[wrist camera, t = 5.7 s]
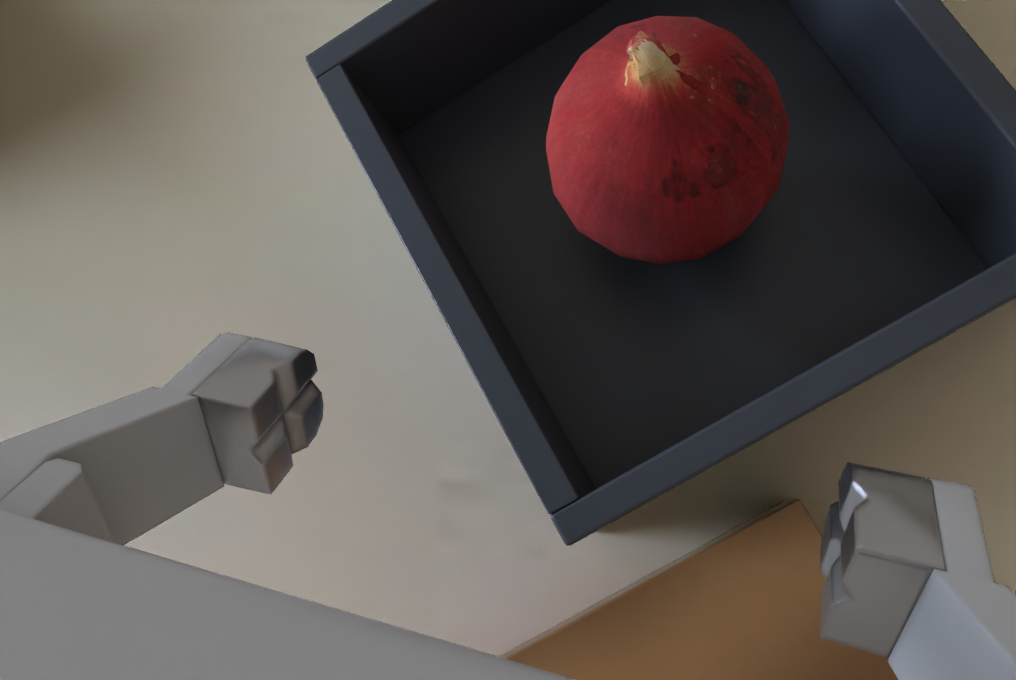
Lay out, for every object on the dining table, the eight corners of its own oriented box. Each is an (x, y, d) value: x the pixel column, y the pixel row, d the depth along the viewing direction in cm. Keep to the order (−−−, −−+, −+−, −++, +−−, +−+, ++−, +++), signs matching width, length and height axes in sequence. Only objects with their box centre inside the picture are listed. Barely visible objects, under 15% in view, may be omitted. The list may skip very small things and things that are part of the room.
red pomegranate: (785, 117, 23) (839, -71, 15) (750, 309, 22) (788, 214, 14) (589, 96, 24) (546, -86, 16) (549, 275, 23) (485, 172, 16)
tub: (373, 135, 26) (303, 56, 21) (734, -94, 25) (747, -233, 20) (591, 533, 22) (566, 548, 17) (1031, 288, 21) (1136, 230, 16)
